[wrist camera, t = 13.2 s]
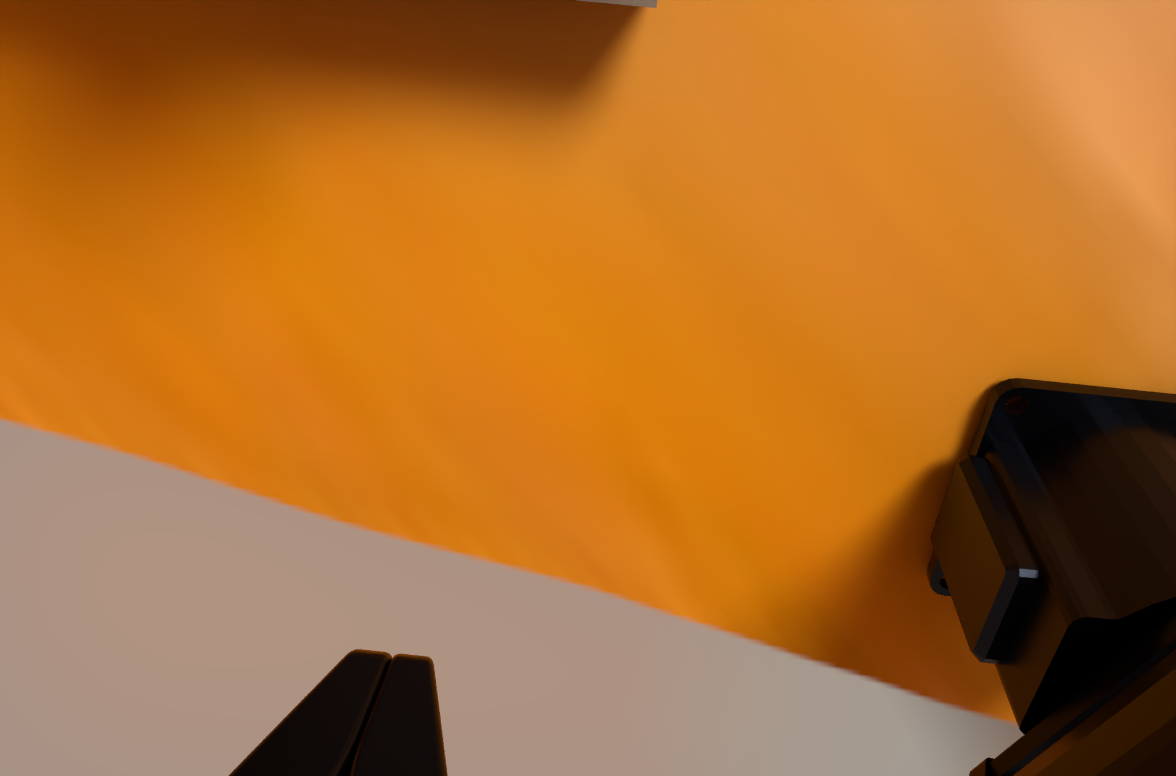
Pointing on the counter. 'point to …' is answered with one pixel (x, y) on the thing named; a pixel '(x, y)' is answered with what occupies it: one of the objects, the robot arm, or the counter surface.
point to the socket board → (628, 2)
